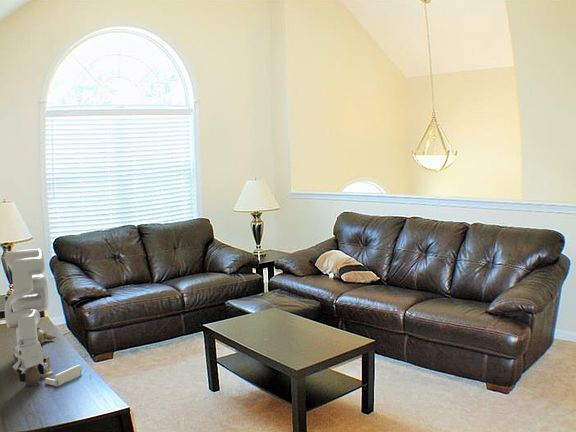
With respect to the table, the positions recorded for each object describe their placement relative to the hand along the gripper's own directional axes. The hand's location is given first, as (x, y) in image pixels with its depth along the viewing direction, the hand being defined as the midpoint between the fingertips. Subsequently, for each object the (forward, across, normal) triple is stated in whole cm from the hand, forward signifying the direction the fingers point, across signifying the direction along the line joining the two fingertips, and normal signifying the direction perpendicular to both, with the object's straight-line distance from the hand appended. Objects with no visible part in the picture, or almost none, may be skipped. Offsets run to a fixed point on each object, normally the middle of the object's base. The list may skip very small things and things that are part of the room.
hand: (32, 377), depth 260 cm
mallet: (+2, +10, +10) cm, 14 cm away
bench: (+3, +10, +9) cm, 14 cm away
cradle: (+3, +10, -9) cm, 14 cm away
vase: (+3, 0, 0) cm, 3 cm away
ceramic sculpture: (+3, +43, +49) cm, 65 cm away
